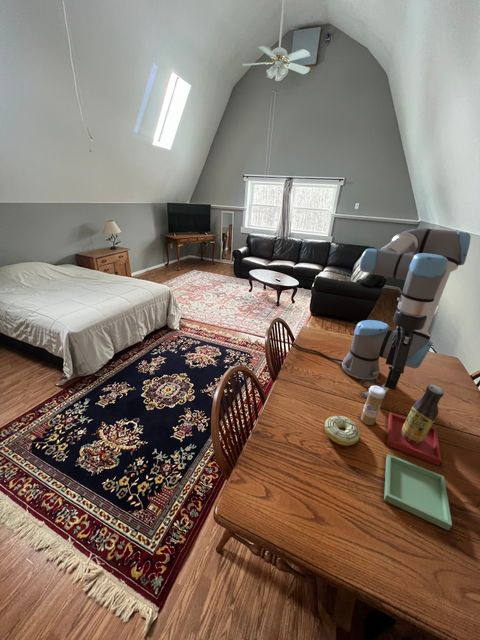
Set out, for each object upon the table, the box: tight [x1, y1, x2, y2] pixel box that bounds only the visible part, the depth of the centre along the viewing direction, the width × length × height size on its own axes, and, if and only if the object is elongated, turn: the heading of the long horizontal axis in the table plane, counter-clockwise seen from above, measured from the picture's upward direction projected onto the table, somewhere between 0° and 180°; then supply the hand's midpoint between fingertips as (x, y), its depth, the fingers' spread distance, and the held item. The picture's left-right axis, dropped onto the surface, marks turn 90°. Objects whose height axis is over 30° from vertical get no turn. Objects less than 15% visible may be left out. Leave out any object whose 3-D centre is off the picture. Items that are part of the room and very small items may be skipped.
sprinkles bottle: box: [360, 385, 386, 426], centre depth 89 cm, size 5×5×14 cm
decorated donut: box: [323, 415, 361, 447], centre depth 85 cm, size 10×11×4 cm
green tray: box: [383, 453, 453, 531], centre depth 70 cm, size 14×14×2 cm
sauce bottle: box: [401, 384, 445, 444], centre depth 81 cm, size 6×6×20 cm
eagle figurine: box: [359, 377, 390, 400], centre depth 103 cm, size 8×7×9 cm
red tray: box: [386, 412, 442, 466], centre depth 85 cm, size 14×14×2 cm
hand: (389, 375), depth 82 cm, fingers open, 13 cm apart
